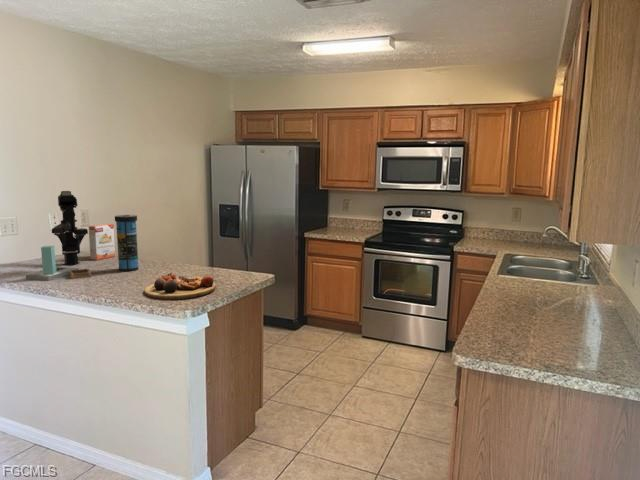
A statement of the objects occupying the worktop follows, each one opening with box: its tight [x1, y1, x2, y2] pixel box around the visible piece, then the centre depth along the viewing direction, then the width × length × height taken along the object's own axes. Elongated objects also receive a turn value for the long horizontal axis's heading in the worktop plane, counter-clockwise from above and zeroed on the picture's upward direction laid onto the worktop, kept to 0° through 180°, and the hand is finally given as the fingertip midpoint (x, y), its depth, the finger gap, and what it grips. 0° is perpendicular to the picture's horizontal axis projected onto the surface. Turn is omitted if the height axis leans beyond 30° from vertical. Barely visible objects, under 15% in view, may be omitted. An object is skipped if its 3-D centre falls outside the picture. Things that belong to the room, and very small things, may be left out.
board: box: [25, 266, 80, 281], centre depth 235 cm, size 14×20×2 cm
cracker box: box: [88, 223, 116, 261], centre depth 278 cm, size 14×6×21 cm, turn 157°
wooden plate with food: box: [143, 272, 217, 300], centre depth 210 cm, size 32×32×8 cm
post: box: [40, 245, 57, 275], centre depth 228 cm, size 4×4×14 cm
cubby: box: [68, 268, 92, 280], centre depth 234 cm, size 9×9×2 cm
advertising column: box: [114, 214, 139, 273], centre depth 247 cm, size 11×11×30 cm
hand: (70, 246), depth 245 cm, fingers open, 9 cm apart
